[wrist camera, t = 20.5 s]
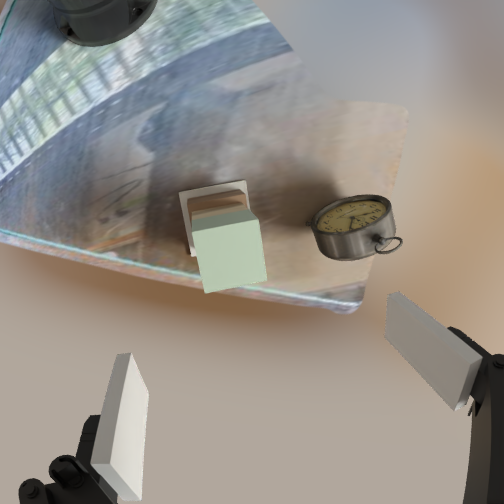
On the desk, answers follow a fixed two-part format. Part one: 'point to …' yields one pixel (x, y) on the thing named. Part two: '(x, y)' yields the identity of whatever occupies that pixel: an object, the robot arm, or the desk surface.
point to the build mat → (202, 192)
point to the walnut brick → (215, 201)
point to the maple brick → (218, 210)
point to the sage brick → (229, 250)
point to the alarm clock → (355, 228)
